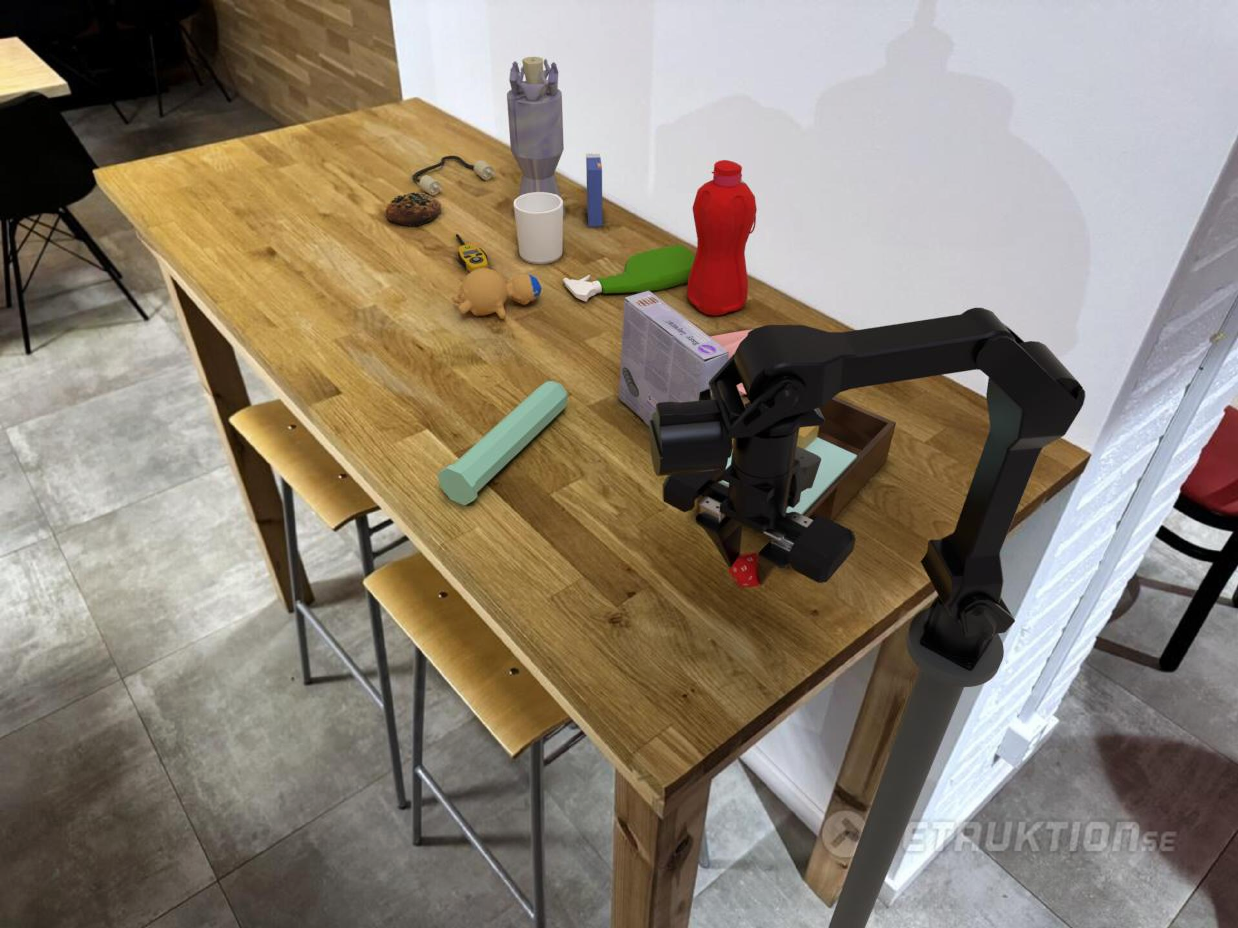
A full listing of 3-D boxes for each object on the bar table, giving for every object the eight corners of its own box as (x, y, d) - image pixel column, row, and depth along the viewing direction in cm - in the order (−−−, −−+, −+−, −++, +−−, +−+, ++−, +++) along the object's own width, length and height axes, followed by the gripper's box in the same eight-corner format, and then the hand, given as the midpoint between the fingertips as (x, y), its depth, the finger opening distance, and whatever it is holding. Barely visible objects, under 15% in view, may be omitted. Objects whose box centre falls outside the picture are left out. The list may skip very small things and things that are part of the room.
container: (548, 366, 135) (442, 460, 118) (580, 389, 134) (478, 487, 117) (537, 392, 139) (433, 486, 122) (568, 415, 138) (468, 513, 121)
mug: (546, 270, 169) (544, 217, 162) (507, 258, 172) (503, 206, 166) (580, 246, 176) (578, 195, 169) (541, 235, 179) (539, 184, 173)
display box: (886, 462, 128) (896, 422, 124) (788, 569, 113) (796, 528, 108) (798, 422, 135) (805, 383, 130) (695, 518, 119) (698, 478, 115)
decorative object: (568, 202, 190) (563, 49, 171) (562, 225, 183) (557, 67, 163) (519, 200, 191) (508, 48, 172) (511, 223, 183) (499, 65, 164)
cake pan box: (723, 457, 129) (734, 350, 117) (695, 470, 127) (703, 363, 115) (644, 389, 141) (646, 287, 129) (616, 400, 139) (617, 297, 127)
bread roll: (404, 231, 180) (399, 206, 177) (376, 219, 187) (371, 195, 184) (452, 217, 185) (448, 192, 183) (424, 206, 193) (419, 182, 190)
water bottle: (761, 307, 159) (779, 167, 143) (707, 322, 155) (718, 180, 139) (732, 283, 165) (746, 146, 149) (679, 297, 162) (687, 158, 145)
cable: (393, 175, 200) (391, 160, 198) (458, 157, 208) (456, 142, 206) (430, 200, 191) (428, 184, 189) (496, 179, 199) (495, 164, 197)
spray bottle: (708, 280, 166) (584, 313, 158) (679, 254, 174) (559, 284, 165) (709, 266, 164) (584, 298, 156) (679, 240, 172) (558, 269, 164)
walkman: (602, 226, 182) (602, 167, 174) (588, 227, 182) (587, 168, 174) (600, 209, 188) (600, 151, 180) (586, 209, 188) (585, 151, 180)
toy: (462, 326, 152) (548, 320, 158) (463, 282, 148) (551, 277, 154) (447, 303, 159) (529, 297, 165) (447, 260, 155) (532, 256, 161)
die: (773, 563, 96) (753, 540, 94) (773, 588, 93) (753, 564, 91) (743, 575, 98) (723, 552, 96) (742, 600, 95) (722, 576, 93)
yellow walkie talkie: (467, 267, 166) (443, 231, 176) (468, 276, 167) (444, 240, 177) (492, 261, 167) (468, 227, 178) (493, 271, 168) (469, 236, 179)
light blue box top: (856, 458, 118) (860, 439, 116) (795, 521, 109) (799, 503, 107) (769, 418, 124) (771, 400, 122) (705, 475, 115) (706, 457, 113)
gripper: (895, 454, 85) (866, 570, 95) (726, 381, 94) (716, 494, 104) (837, 520, 79) (813, 637, 89) (661, 435, 87) (657, 550, 98)
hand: (748, 573), depth 95 cm, fingers closed on die, 3 cm apart
